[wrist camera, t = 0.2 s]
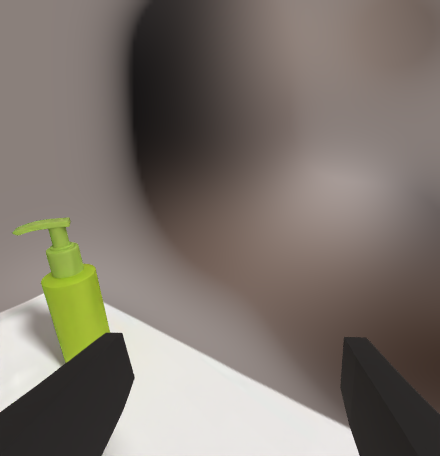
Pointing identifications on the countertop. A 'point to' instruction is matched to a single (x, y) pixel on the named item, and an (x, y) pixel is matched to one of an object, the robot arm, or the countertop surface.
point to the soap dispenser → (70, 290)
